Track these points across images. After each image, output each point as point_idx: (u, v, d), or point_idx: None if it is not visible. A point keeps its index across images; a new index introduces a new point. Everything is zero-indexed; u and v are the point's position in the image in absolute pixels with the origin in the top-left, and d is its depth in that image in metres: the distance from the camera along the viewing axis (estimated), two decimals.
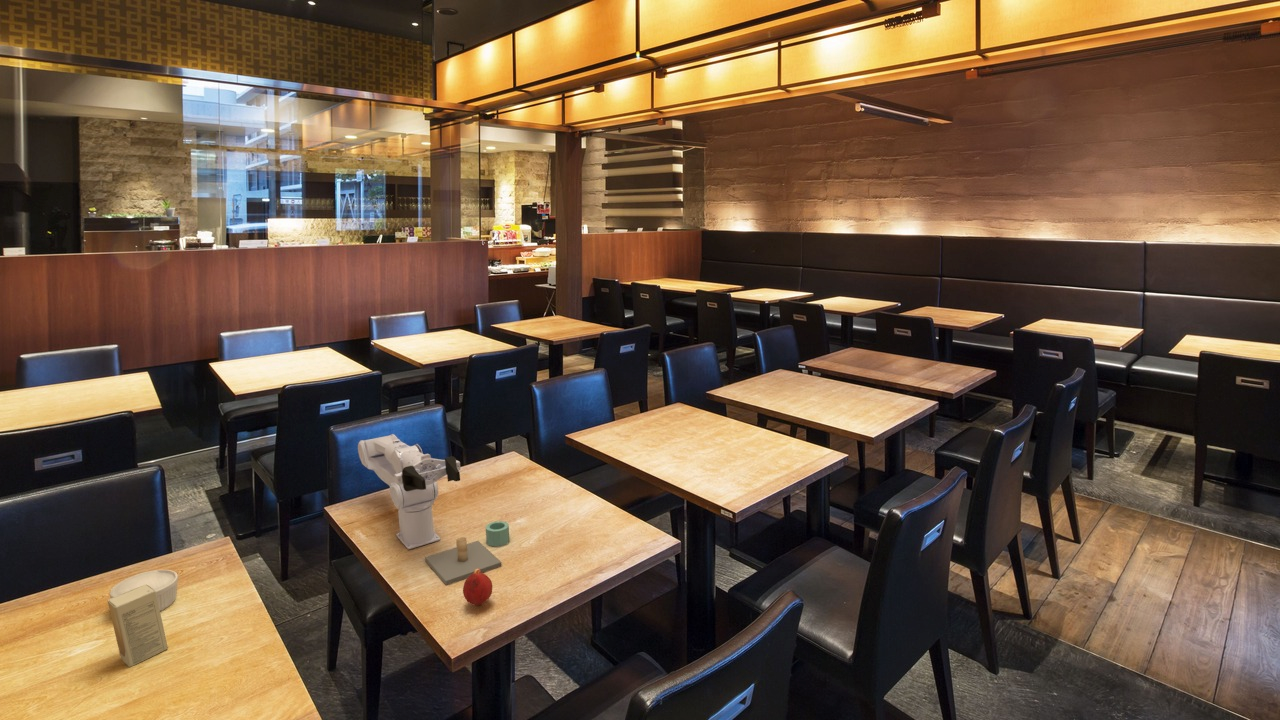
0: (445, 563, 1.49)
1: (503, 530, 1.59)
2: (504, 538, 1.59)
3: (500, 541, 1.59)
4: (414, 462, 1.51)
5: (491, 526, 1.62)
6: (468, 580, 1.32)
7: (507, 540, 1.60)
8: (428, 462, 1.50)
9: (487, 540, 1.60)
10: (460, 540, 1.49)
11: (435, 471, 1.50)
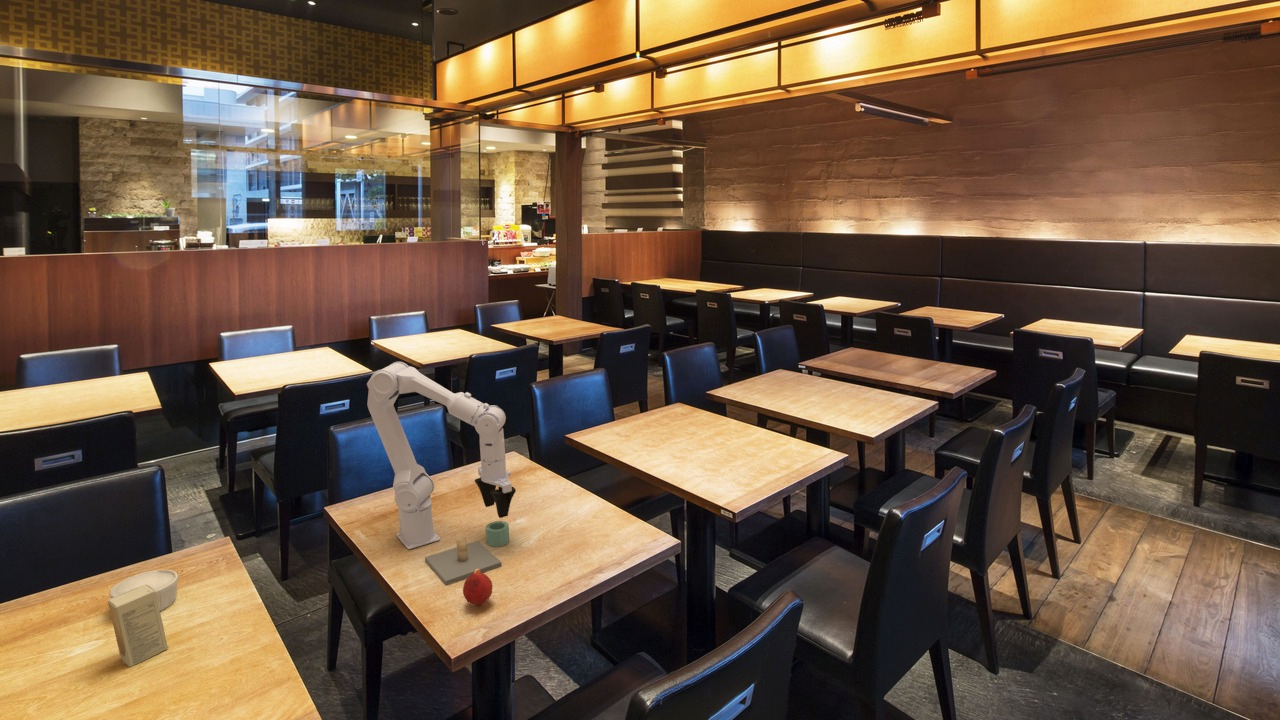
0: (445, 563, 1.49)
1: (503, 530, 1.59)
2: (504, 538, 1.59)
3: (500, 541, 1.59)
4: (505, 468, 1.57)
5: (491, 526, 1.62)
6: (468, 580, 1.32)
7: (507, 540, 1.60)
8: None
9: (487, 540, 1.60)
10: (460, 540, 1.49)
11: None
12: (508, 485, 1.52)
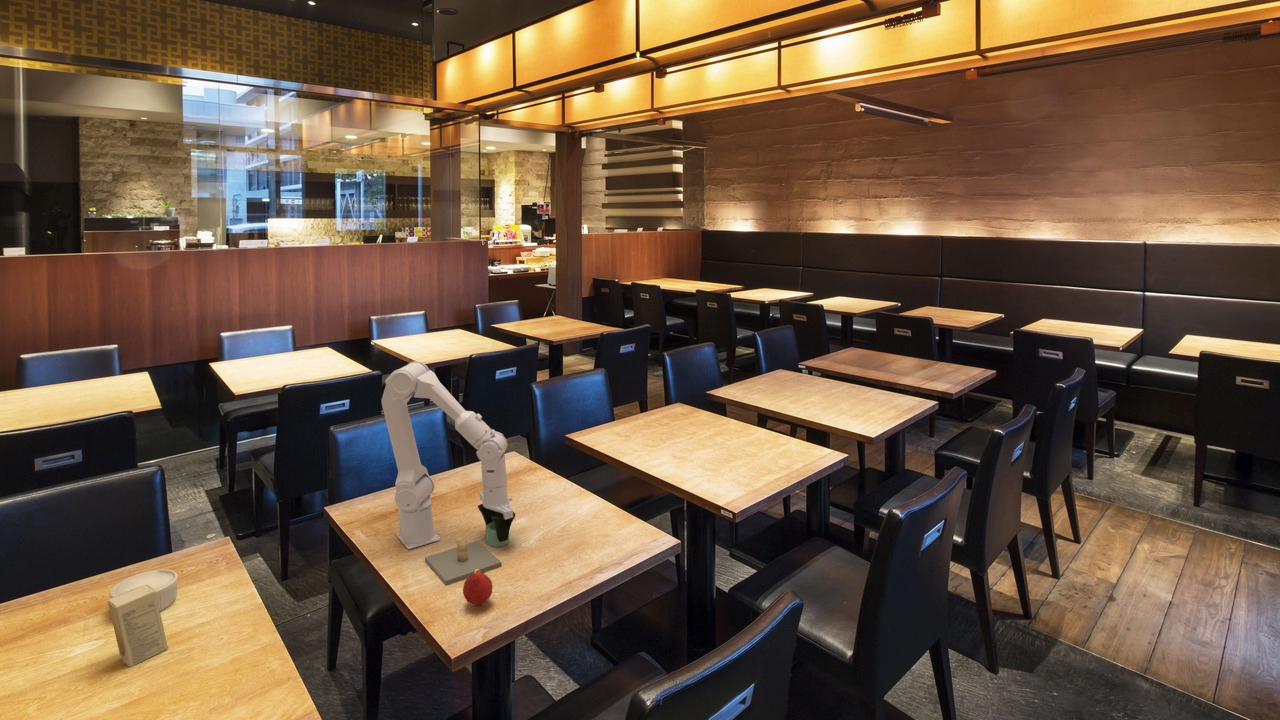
0: (445, 563, 1.49)
1: None
2: None
3: None
4: (506, 494, 1.59)
5: (491, 526, 1.62)
6: (468, 580, 1.32)
7: (507, 540, 1.60)
8: None
9: (487, 540, 1.60)
10: (460, 540, 1.49)
11: None
12: (509, 511, 1.54)
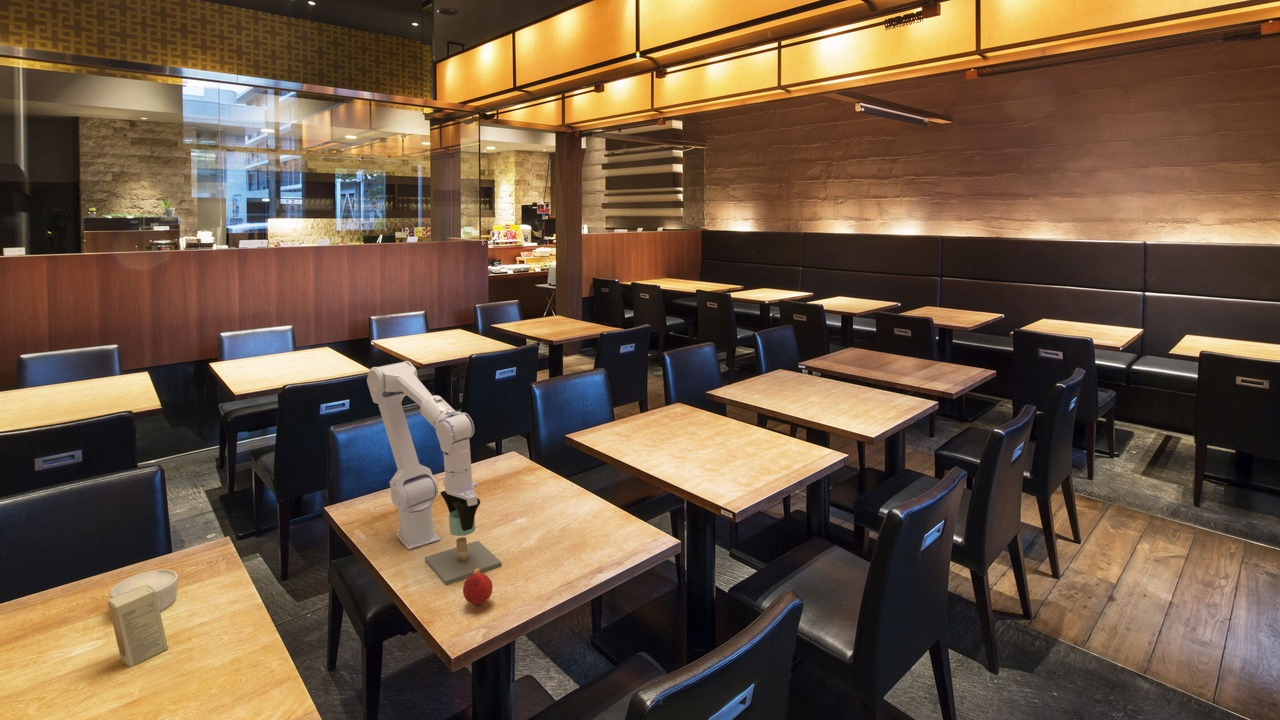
0: (445, 563, 1.49)
1: None
2: None
3: None
4: (471, 479, 1.47)
5: (455, 514, 1.50)
6: (468, 580, 1.32)
7: (472, 529, 1.49)
8: None
9: (450, 529, 1.48)
10: (460, 540, 1.49)
11: None
12: (473, 498, 1.42)
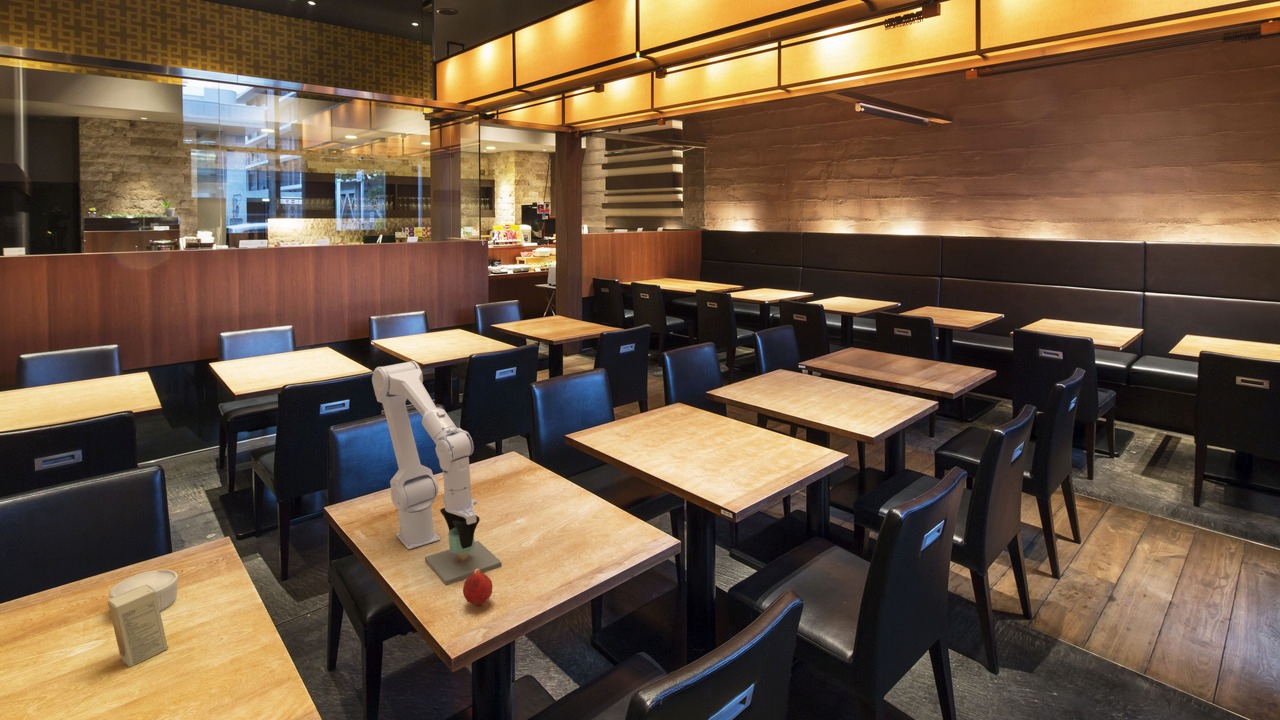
0: (445, 563, 1.49)
1: None
2: None
3: None
4: (470, 497, 1.47)
5: (455, 531, 1.50)
6: (468, 580, 1.32)
7: (472, 546, 1.49)
8: None
9: (450, 546, 1.49)
10: None
11: None
12: (472, 516, 1.43)
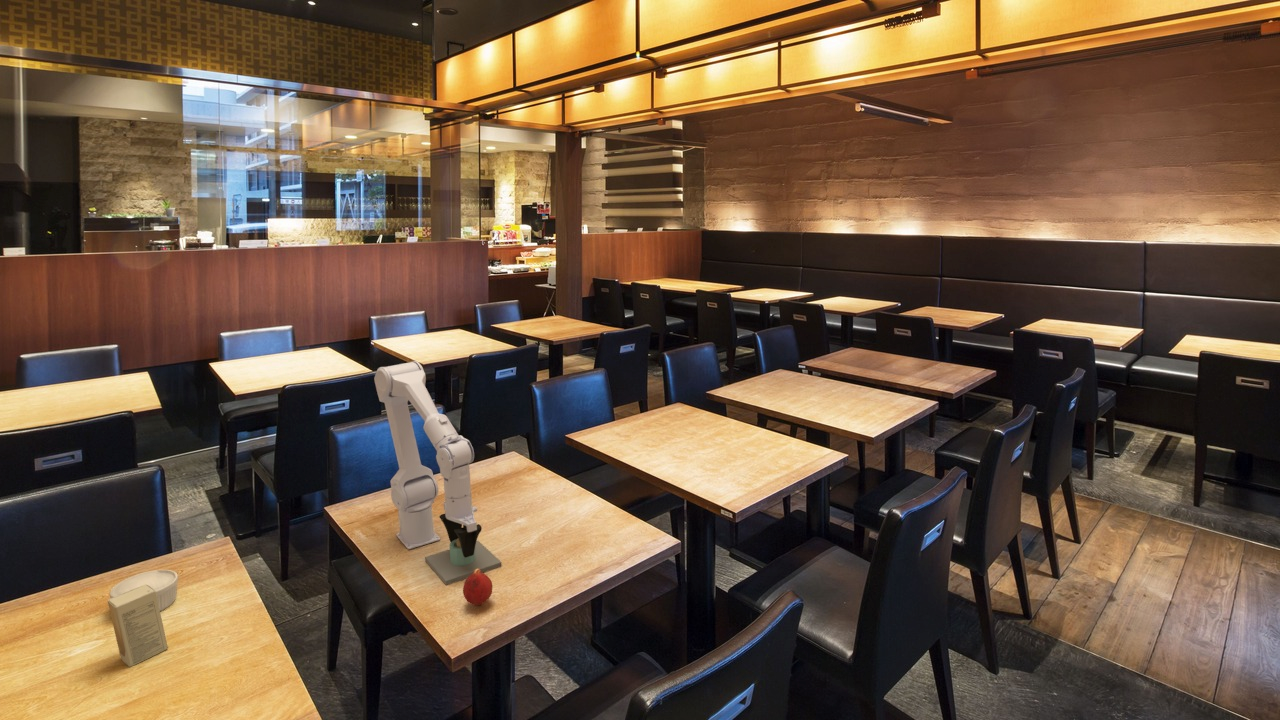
0: (445, 563, 1.49)
1: None
2: (469, 557, 1.49)
3: (464, 560, 1.48)
4: (470, 504, 1.48)
5: (456, 543, 1.51)
6: (468, 580, 1.32)
7: (472, 559, 1.50)
8: None
9: (451, 559, 1.49)
10: None
11: None
12: (473, 524, 1.43)
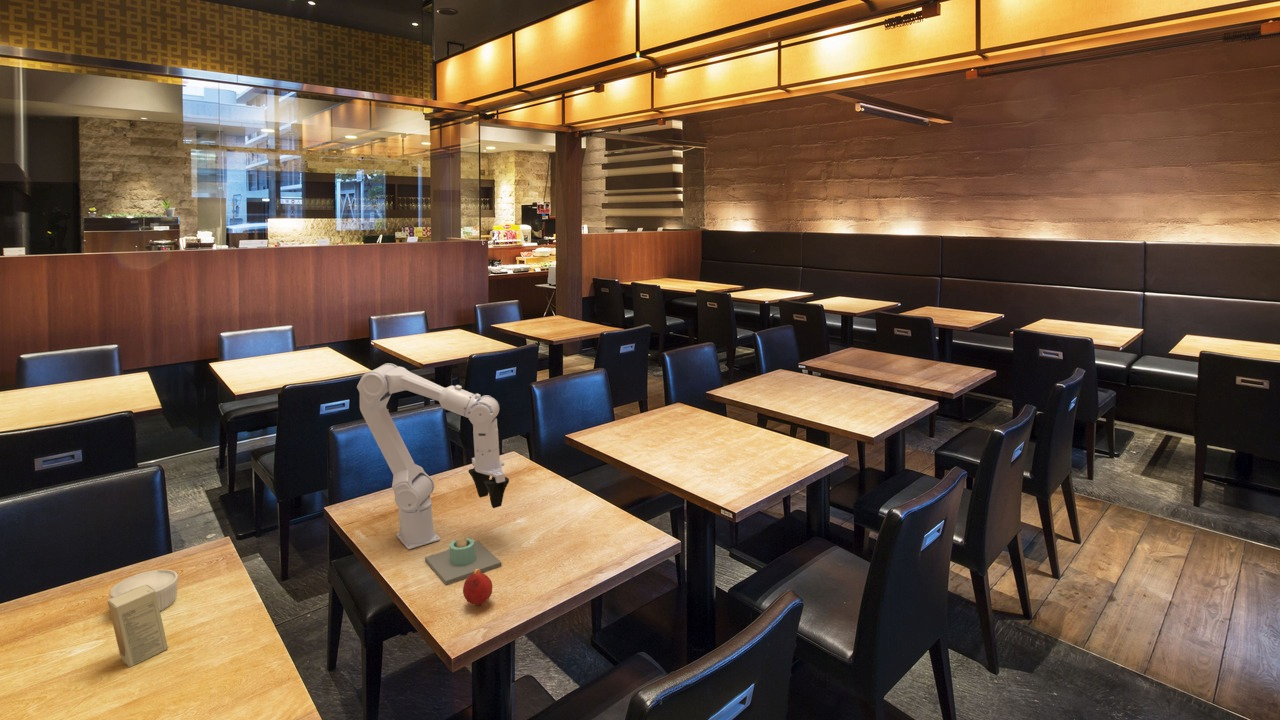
0: (445, 563, 1.49)
1: (468, 548, 1.48)
2: (469, 557, 1.49)
3: (464, 560, 1.48)
4: (498, 458, 1.57)
5: (456, 543, 1.51)
6: (468, 580, 1.32)
7: (472, 559, 1.50)
8: None
9: (451, 559, 1.49)
10: (460, 540, 1.49)
11: None
12: (501, 475, 1.52)
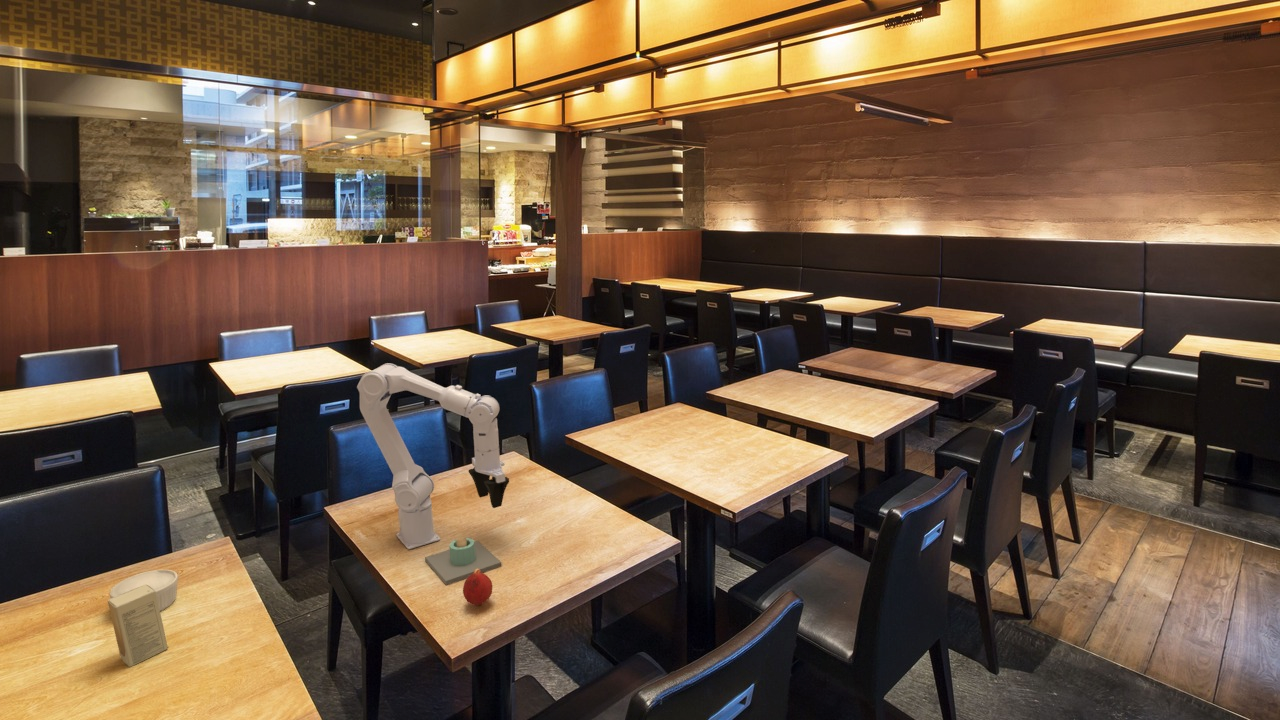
0: (445, 563, 1.49)
1: (468, 548, 1.48)
2: (469, 557, 1.49)
3: (464, 560, 1.48)
4: (498, 458, 1.57)
5: (456, 543, 1.51)
6: (468, 580, 1.32)
7: (472, 559, 1.50)
8: None
9: (451, 559, 1.49)
10: (460, 540, 1.49)
11: None
12: (501, 475, 1.52)
